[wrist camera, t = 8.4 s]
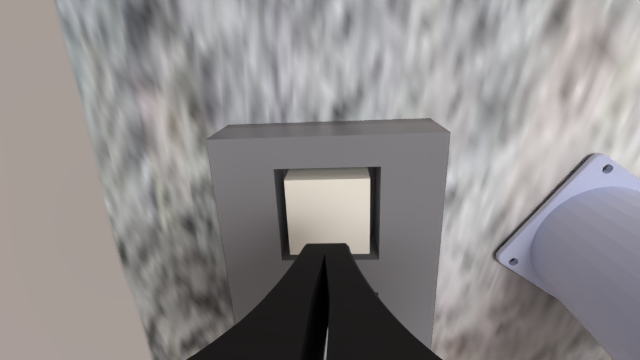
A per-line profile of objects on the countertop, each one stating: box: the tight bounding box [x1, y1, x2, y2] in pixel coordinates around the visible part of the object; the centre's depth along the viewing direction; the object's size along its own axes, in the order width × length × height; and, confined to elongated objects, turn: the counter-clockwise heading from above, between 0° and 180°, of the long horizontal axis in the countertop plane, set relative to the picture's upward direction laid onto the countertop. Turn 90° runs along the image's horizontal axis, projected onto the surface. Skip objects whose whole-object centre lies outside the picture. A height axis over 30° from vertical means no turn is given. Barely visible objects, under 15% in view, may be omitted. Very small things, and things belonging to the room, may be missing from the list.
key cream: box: [284, 167, 370, 255], centre depth 18 cm, size 4×4×2 cm
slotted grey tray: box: [206, 118, 450, 350], centre depth 21 cm, size 22×11×4 cm, turn 2°
